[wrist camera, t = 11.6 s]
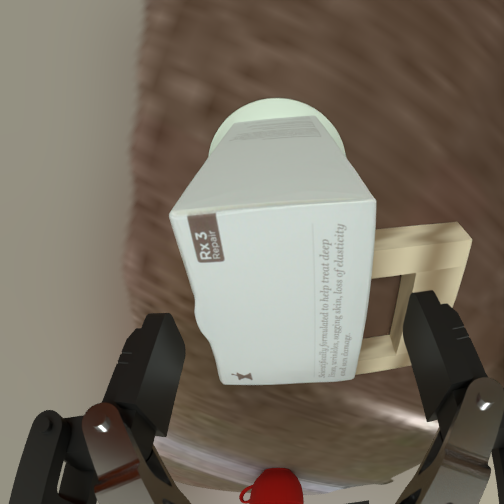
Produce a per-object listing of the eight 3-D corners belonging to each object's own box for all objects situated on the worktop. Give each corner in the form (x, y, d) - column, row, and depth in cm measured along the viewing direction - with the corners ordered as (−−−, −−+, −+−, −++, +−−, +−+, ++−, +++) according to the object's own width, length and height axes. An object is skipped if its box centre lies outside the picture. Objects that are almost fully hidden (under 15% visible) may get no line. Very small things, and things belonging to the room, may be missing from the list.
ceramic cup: (228, 468, 65) (225, 503, 57) (290, 461, 60) (290, 500, 52) (253, 479, 71) (252, 510, 63) (310, 472, 66) (311, 505, 58)
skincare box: (320, 215, 24) (362, 385, 12) (243, 222, 25) (221, 394, 13) (314, 107, 19) (395, 202, 7) (226, 116, 20) (157, 223, 8)
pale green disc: (339, 92, 19) (341, 93, 19) (345, 216, 25) (347, 220, 24) (197, 109, 20) (195, 111, 20) (223, 229, 26) (222, 233, 25)
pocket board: (457, 221, 24) (472, 239, 22) (424, 342, 34) (431, 360, 31) (239, 243, 27) (235, 265, 24) (265, 362, 36) (264, 383, 34)
